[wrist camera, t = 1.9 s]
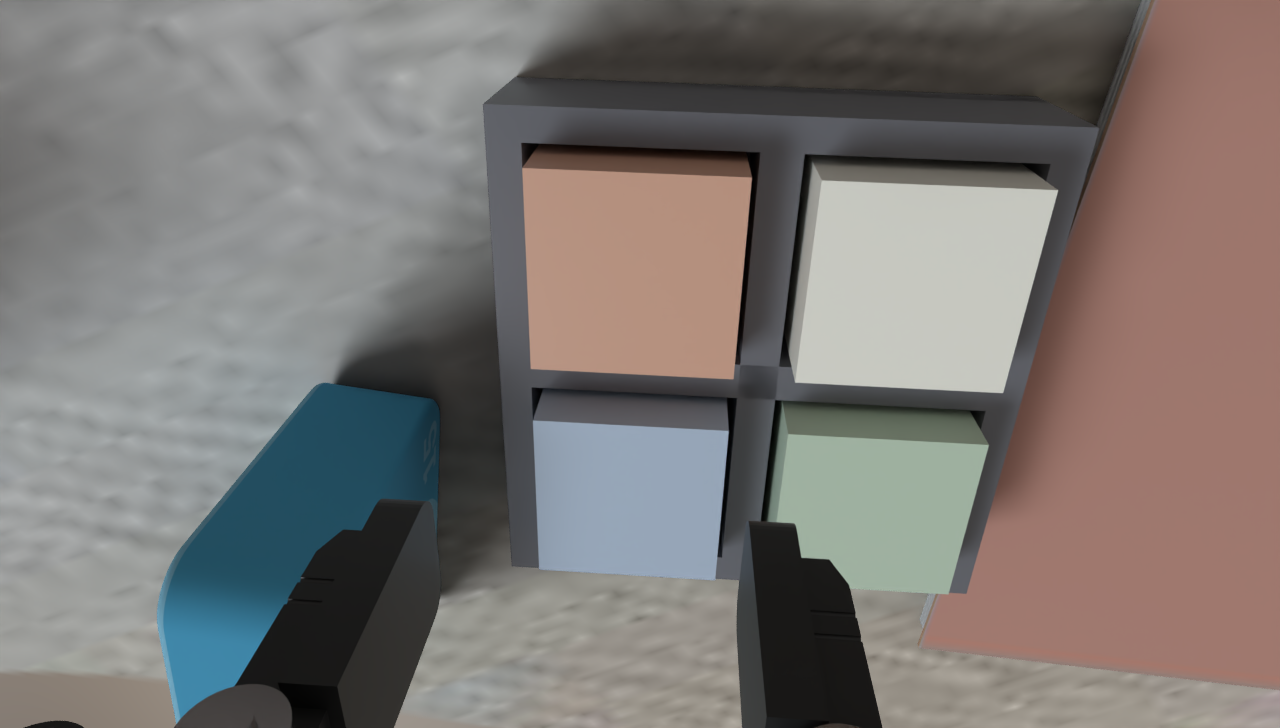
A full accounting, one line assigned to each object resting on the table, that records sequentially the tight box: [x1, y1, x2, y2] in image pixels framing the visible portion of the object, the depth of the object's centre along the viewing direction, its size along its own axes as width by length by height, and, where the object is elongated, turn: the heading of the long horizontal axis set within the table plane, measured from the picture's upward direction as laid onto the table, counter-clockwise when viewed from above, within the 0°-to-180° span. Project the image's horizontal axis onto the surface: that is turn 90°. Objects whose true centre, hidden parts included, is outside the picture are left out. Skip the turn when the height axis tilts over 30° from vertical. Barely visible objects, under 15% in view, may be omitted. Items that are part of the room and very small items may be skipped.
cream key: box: [784, 154, 1058, 393], centre depth 24 cm, size 6×6×4 cm
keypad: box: [483, 77, 1099, 594], centre depth 28 cm, size 16×16×4 cm
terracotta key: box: [522, 143, 752, 379], centre depth 24 cm, size 6×6×4 cm
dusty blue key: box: [533, 388, 729, 580], centre depth 28 cm, size 6×6×4 cm
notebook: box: [918, 0, 1280, 690], centre depth 29 cm, size 27×17×2 cm, turn 174°
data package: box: [157, 383, 440, 724], centre depth 29 cm, size 12×4×12 cm, turn 172°
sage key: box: [761, 400, 989, 594], centre depth 28 cm, size 6×6×4 cm
